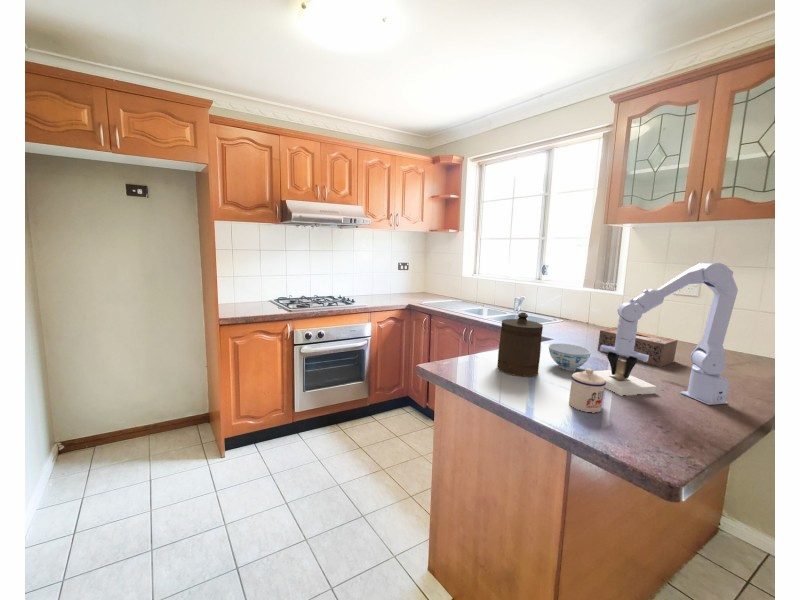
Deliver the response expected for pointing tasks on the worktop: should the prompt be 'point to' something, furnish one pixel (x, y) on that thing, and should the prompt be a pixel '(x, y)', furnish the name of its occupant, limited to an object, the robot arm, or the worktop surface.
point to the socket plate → (626, 384)
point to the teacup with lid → (587, 391)
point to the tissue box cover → (644, 346)
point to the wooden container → (520, 346)
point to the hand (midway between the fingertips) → (620, 375)
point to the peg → (620, 370)
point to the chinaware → (569, 355)
